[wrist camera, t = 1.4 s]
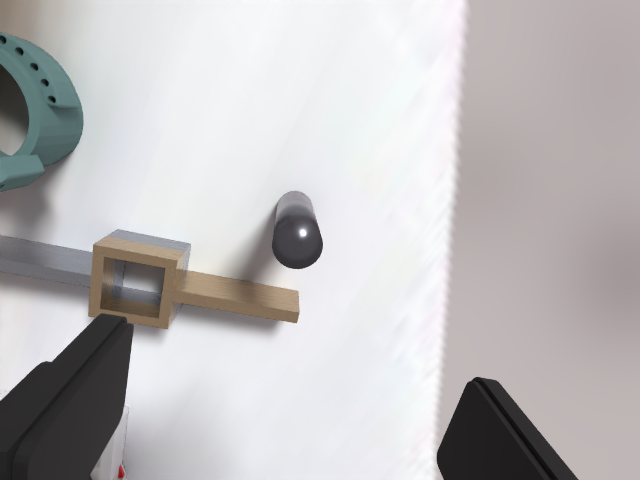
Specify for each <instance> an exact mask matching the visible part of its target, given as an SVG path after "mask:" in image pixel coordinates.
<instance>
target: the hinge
mask: <svg viewBox="0 0 640 480" xmlns="http://www.w3.org/2000/svg"><path fill="white" fill-rule="evenodd" d="M190 248H191V244H189V243H184V242H179V241H174V240H169V239H164V238H159V237H154V236H148V235H143V234H138V233H133V232H128V231H123V230H116V231H114V232H113V233H111V234H110V235H108V236H106V237H105V238H103V239H101V240H100V241H98V242H97V243H95V244H93V253H92V252H87V251H81V250H76V249H71V248H65V247H60V246H55V245H49V244H44V243H39V242H33V241H28V240H23V239H17V238H12V237H7V236H1V235H0V272H5V273H11V274H17V275H23V276H28V277H34V278H40V279H46V280H51V281H57V282H63V283H68V284H74V285H80V286H86V287H90V299H89V313H88V316H90V317H97V316H98V315H100V314H101V313H105V314H111V315H117V316H123V317H126V318H127V323H133V324H140V325H146V326H152V327H158V328H164V329H168V328H169V326H170V325H171V323H172V321H173V319H174V318H175V316H176V314H177V313H178V311H179V309H180V308H181V306H182V303H183V304H189V305H195V306H201V307H206V308H212V309H218V310H223V311H229V312H235V313H241V314H246V315H252V316H258V317H264V318H269V319H275V320H281V321H287V322H292V323H297V320H298V316H299V296H298V291H294V290H289V289H284V288H278V287H273V286H268V285H262V284H257V283H252V282H246V281H241V280H236V279H230V278H225V277H220V276H214V275H209V274H204V273H198V272H193V271H188V270H187V268H188V261H189V255H190ZM125 261H130V262H135V263H141V264H146V265H152V266H157V267H162V268H165V275H164V283H163V290H162V294H159V293H154V292H148V291H142V290H137V289H131V288H125V287H122V285H123V275H124V265H125Z"/></svg>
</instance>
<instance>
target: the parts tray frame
mask: <svg viewBox="0 0 640 480" xmlns="http://www.w3.org/2000/svg"><path fill="white" fill-rule="evenodd" d="M9 392H10V391H6V392H4V393H3V394H2V395H1V396H0V401H1V400H2V399H3V398H4V397H5V396H6V395H7V394H8V393H9ZM128 410H129V407H126V406H124V410H123V415H122V418H121V420H120V423H119V425H118V427H117V428H116V430H115V432H114V434H113V435H112V437H111V439H110V441H109V443H108V444H107V446H106V448H105V450H104V451H103V453H102V455H101V460H100V470H99V480H113V478H114V477H115V479H116V480H118V474H119V466H120V464H121V462H122V461H123V453H124V444H125V436H126V427H127V419H128Z"/></svg>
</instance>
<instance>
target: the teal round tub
mask: <svg viewBox="0 0 640 480" xmlns="http://www.w3.org/2000/svg"><path fill="white" fill-rule="evenodd" d="M0 64H1V65H2V66H3V67H4V68H5V69H6V70H7V71H8V72H9V73H10V74H11V75H12V76H13V78H14V79H15V81H16V82H17V83H18V85H19V87H20V89H21V91H22V93H23V95H24V97H25V100H26V103H27V106H28V112H29V129H28V133H27V136H26V139H25V141H24V143H23V144H22V146H21V148H20V149H19V150H18V151H17V152H16V153H15V154H14V155H13V156H9V155H7V154H5V153H3V152H2V151H0V191H5V190H9V189H13V188H18V187H22V186H26V185H28V184H29V183H31V182H32V181H34V180H35V179H37V178H38V177H40V176H41V175H42V174H44V173H45V169H44V167H43V166H46V165H50V164H54V163H56V162H57V161H59V160H60V159H62V158H63V157H64V156H66V155H67V154H69V153H70V152H72V151H73V150H74V149H75V147H76V146H77V144H78V143H79V140H80V137H81V135H82V130H83V111H82V106H81V103H80V100H79V97H78V95H77V93H76V91H75V88H74V86H73V84H72V82H71V80H70V78H69V76H68V75H67V74H66V72H65V71H64V70H63V68H62V67H61V66H60V65H59V63H58V62H57V61H56V60H55V59H54V58H53V57H52V56H50V55H49V54H48V53H47V52H45V51H44V50H43V49H41V48H40V47H38V46H36V45H35V44H33V43H31V42H29V41H27V40H23V39H20V38H17V37H14V36H11V35H8V34H5V33H1V32H0Z"/></svg>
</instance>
